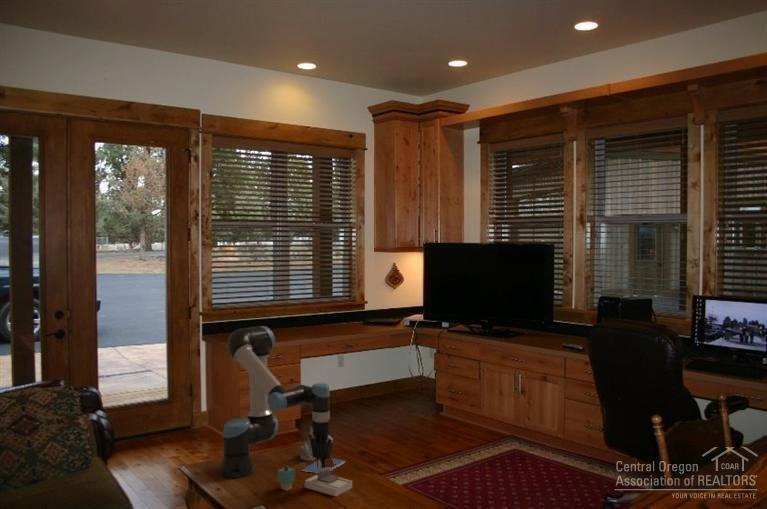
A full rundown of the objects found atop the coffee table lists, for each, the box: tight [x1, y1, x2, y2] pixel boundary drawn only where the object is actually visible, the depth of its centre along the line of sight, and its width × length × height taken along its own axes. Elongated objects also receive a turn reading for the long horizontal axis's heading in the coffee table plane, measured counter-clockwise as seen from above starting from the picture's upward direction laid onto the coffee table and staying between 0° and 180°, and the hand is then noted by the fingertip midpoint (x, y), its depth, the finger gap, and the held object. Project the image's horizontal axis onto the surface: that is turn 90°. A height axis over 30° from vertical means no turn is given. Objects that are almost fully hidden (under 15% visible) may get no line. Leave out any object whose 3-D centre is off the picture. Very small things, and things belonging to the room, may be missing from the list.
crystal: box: [299, 425, 316, 461], centre depth 311 cm, size 10×13×15 cm
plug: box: [277, 465, 296, 491], centre depth 272 cm, size 5×5×10 cm
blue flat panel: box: [301, 458, 346, 473], centre depth 299 cm, size 19×13×1 cm, turn 153°
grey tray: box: [304, 474, 353, 497], centre depth 273 cm, size 17×11×4 cm, turn 55°
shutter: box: [318, 469, 339, 484], centre depth 273 cm, size 6×6×3 cm
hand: (321, 474), depth 276 cm, fingers closed
